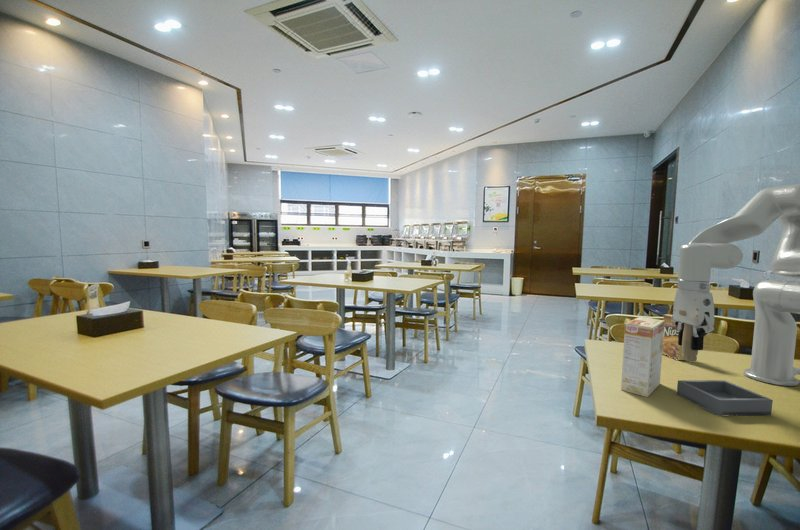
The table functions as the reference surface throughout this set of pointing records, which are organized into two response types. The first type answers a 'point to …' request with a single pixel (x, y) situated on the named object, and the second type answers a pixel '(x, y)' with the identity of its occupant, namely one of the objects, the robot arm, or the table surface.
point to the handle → (688, 341)
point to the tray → (724, 398)
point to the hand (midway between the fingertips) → (690, 346)
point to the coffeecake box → (642, 355)
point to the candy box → (671, 339)
